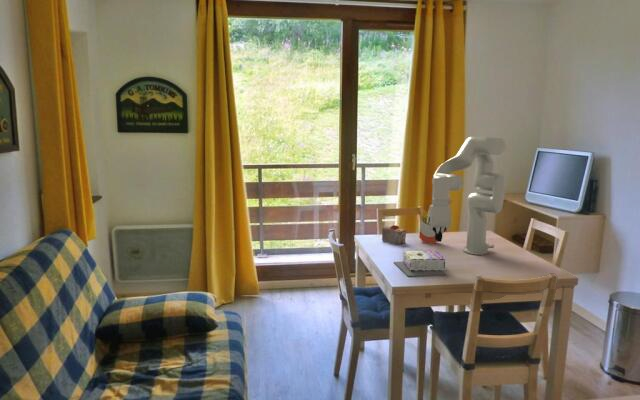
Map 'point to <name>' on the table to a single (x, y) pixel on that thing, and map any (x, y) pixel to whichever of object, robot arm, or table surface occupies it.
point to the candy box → (423, 261)
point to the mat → (416, 273)
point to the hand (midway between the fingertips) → (438, 240)
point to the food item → (393, 234)
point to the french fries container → (426, 230)
